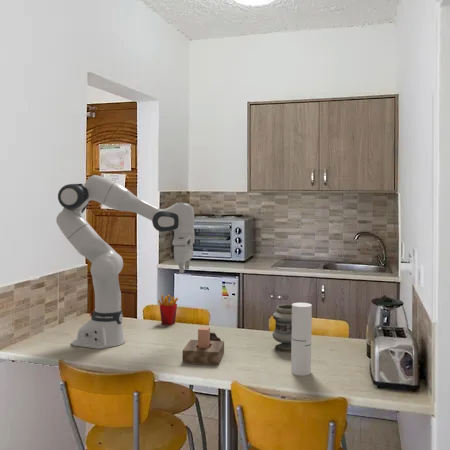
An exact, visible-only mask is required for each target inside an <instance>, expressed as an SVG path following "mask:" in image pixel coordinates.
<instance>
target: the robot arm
mask: <svg viewBox="0 0 450 450" xmlns="http://www.w3.org/2000/svg"><path fill="white" fill-rule="evenodd" d="M57 200H58V202H59V205H60V206H61V207H62V208H63V209H62V210H61V211H60V212H59V213H58V214H57V216H56V218H55V221H56V224H57V226H58V228H59V230H60V231H61V233H62V234H63V235H64V236H65V238H66V239H67V241H68V242H69V244H71V245H72V246H73V248H74V249H75V250H76V251H77V252H78V254H79V255H81V256H82V257H84V258H85V259H86V260H88V261H89V262H90V263H91V266H90V274H91V277H92V284H93V291H94V309H93V311H91V312H90V313H89V317H90V319H89V320H88V321H86V323H84V324H83V325H82V326H81V327H79V328H78V332H77V337H75V338H74V339H72V341H71V345H72V346H77V347H84V348H92V349H98V350H100V349H107V348H111V347H117V346H119V345H123V344H124V343H126V339H125V336H124V331H123V309H122V292H121V288H120V281H119V274H120V273H121V272H122V270H123V268H124V261H123V260H124V259H123V257H122V255H120V254H119V253H118V252H117V251H115V249H114V248H113V247H112V246H111V245H110V244H108V243H107V242H106V241H105V240H104V239H103V238H102V237H101V236H100V235H99V234H98V233H97V232H96V230H95V229H94V228H93V227H92V226H91V224H90V223H89V222H88V221H87V220H86V218H85V217H84V216H83V213H84V211H85V210H86V209H87V208H88V206H89V203H90V201H95V202H97V203H99V204H101V205H104V206H105V207H108V208H110V209H112V210H116V211H120V212H121V211H122V212H132V213H134V214H138V215H139V216H141V217H143V218H145V219H147V220H150V221H151V222H152V226H153V228H154V229H155V230H156V231H158V232H160V233H168V232H171V231H173V232H174V233H173V234H174V235H173V240H172V246H173V259H174V263H175V264H177V265H178V269H179V271H178V272H179V273H180V274H183V273H185V271H186V270H188V271H189V269H190V264H191V260H192V258H193V257H194V246H193V244H194V245H195V229H194V228H195V227H194V226H195V210H194V207H193V205H191V204H190V203H186V202H181V201H178V202H176V203H174V204H172V205H171V206H168V207H167V208H159V207H156V206H154V205H152V204H150V203H148V202H146V201H144V200H142V199H141V198H139V197H138V196H136V195H135V194H134V193H133V192H132V191H130V190H129V189H127V187H125V186H123V185H122V184H120V183H118V182H116V181H113V180H112V179H110V178H107V177H104V176H101V175H97V174H94V175H90V176H89V177H88V178H87V179H86V181H85V183H84V184H83V183H70V184H64V186H62V187H61V188H60V189H59V191H58V193H57Z"/></svg>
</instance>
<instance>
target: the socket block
mask: <svg viewBox="0 0 450 450" xmlns="http://www.w3.org/2000/svg"><path fill="white" fill-rule="evenodd" d="M224 354H225V341H223V340H221V341H210V348H198V339H190V340H189V341H188V343H186V345H185V347H184V348H183V349H182V357H181V358H182V364H191V365H206V366H207V365H208V366H210V365H211V366H219V365H220V362H221V360H222V359H223V356H224Z"/></svg>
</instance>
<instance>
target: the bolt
mask: <svg viewBox="0 0 450 450" xmlns="http://www.w3.org/2000/svg"><path fill="white" fill-rule="evenodd" d="M210 341H222V340H221V338H220V337H218V336H217V334H216V333H215V332H210Z"/></svg>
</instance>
